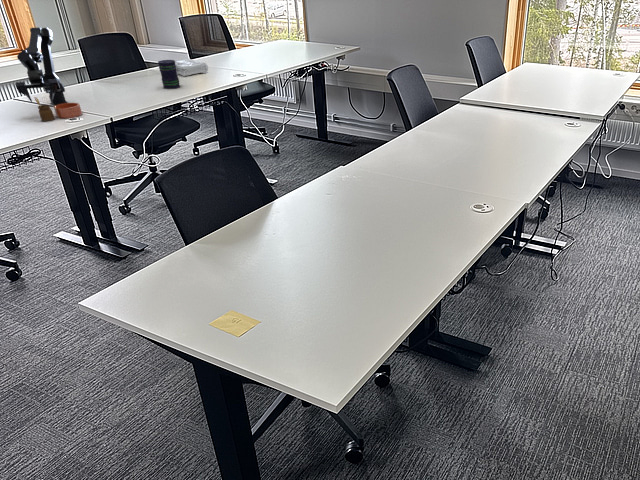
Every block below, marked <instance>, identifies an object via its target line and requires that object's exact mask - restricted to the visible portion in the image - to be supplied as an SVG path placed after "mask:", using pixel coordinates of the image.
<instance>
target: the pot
mask: <svg viewBox="0 0 640 480" xmlns="http://www.w3.org/2000/svg"><path fill="white" fill-rule="evenodd" d="M53 110H54V113H55V115H56V117H57V118H59V119H74V118H77V117H80V116H82V114H83V111H82V108H81V104H80V103H78V102H68V103H62V104H58V105H53Z"/></svg>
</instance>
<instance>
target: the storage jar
mask: <svg viewBox="0 0 640 480" xmlns="http://www.w3.org/2000/svg"><path fill="white" fill-rule="evenodd" d="M175 61H176V60H174V59H163V60H158V61H157V65H158V69H159V72H160V75H161V83H162V86H163V89H165V90H174V89H179V88H180V87H181V85H180V78H179V77H178V74H177V69H176V64H175Z"/></svg>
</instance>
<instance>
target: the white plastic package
mask: <svg viewBox="0 0 640 480" xmlns="http://www.w3.org/2000/svg"><path fill="white" fill-rule="evenodd" d="M174 61H175V64H176V69H177V75H181V76H183V77H188V76H191V75H196V74H201V73H202V74H207V73H208V71H209V66H208V64H207V63H206V62H203V61H199V60H198V61H197V60H194V59H191V58H185V59H183V60H182V59H181V60H174Z"/></svg>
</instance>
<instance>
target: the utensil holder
mask: <svg viewBox="0 0 640 480" xmlns="http://www.w3.org/2000/svg"><path fill="white" fill-rule="evenodd" d="M33 98H34V101H35V102H36V103H37V104H38V105H37V109H38V114H39V117H40V120H41V121H42V122H51V121H54V120H55V115H54V113H53V110H52V108H51V106H50V105H49V104H47V102H48V98H46V97H43V100H45V101H46V102H45V101H42V104H40V100H39V99H38V97H37V96H34V97H33Z"/></svg>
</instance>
